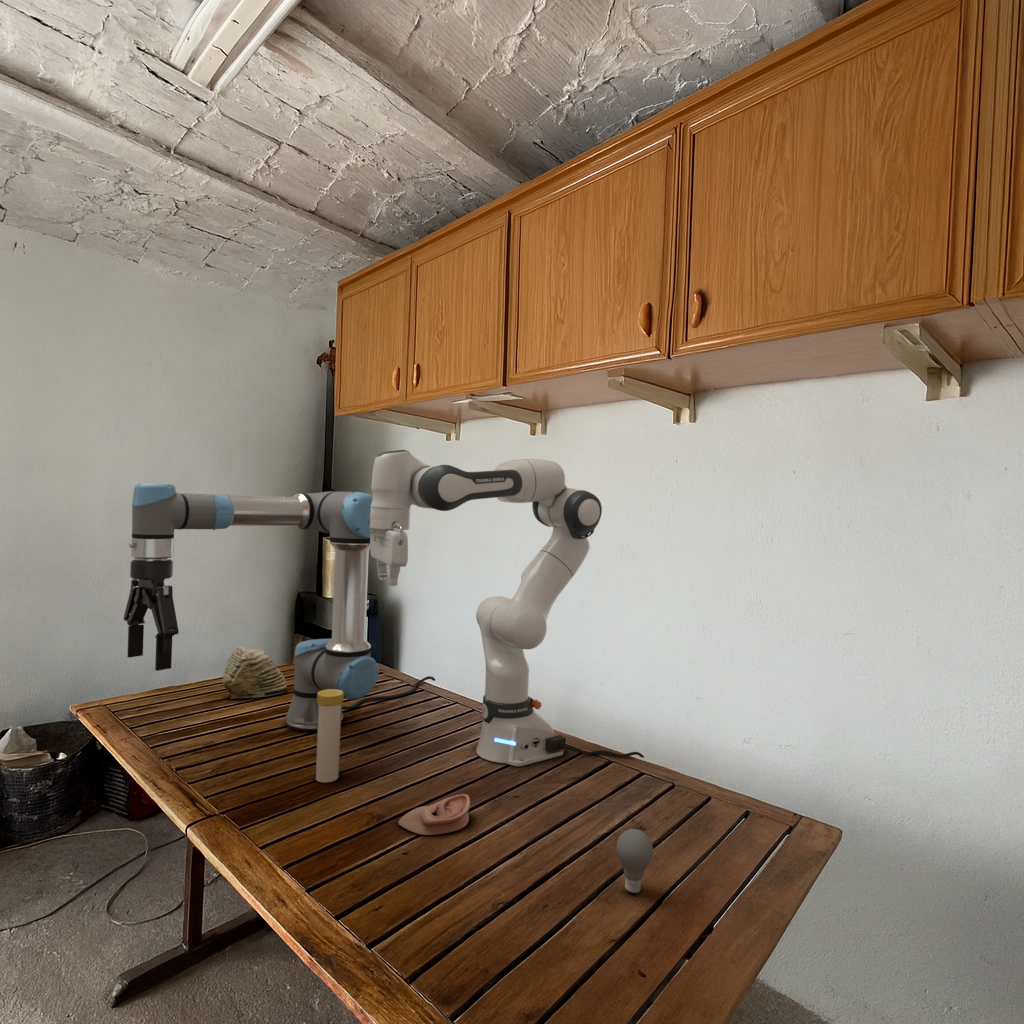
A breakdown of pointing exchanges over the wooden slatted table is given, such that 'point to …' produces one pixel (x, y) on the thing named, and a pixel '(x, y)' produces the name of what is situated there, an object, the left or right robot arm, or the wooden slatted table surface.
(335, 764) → the beige cylinder
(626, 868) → the light bulb
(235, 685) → the fossil
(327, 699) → the lid
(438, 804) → the anatomical model
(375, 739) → the wooden slatted table surface
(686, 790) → the wooden slatted table surface
